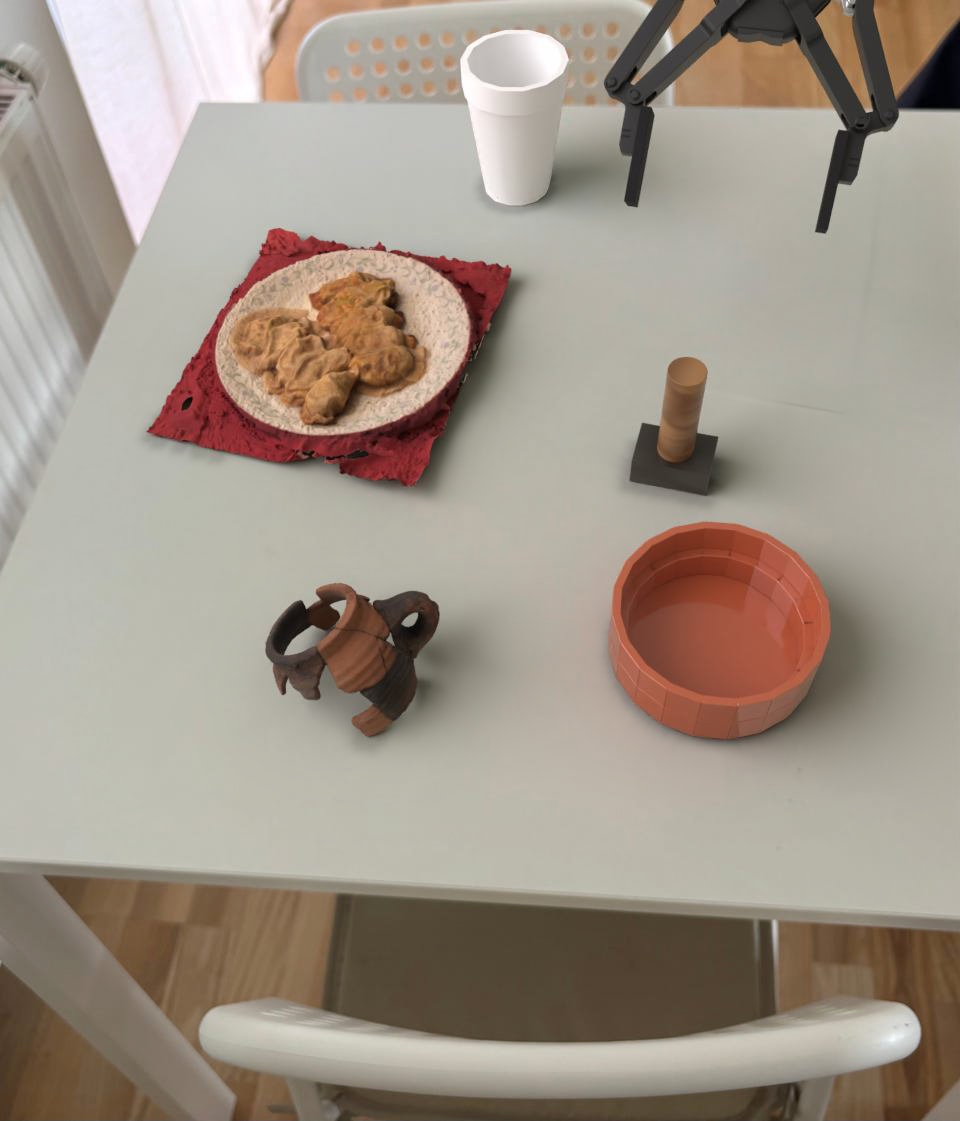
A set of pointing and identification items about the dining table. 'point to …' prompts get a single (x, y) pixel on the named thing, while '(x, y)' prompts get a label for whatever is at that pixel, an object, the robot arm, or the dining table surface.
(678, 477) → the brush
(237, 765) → the dining table surface
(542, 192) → the foam cup
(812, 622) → the bowl
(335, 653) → the pottery mug
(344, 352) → the plate with food
